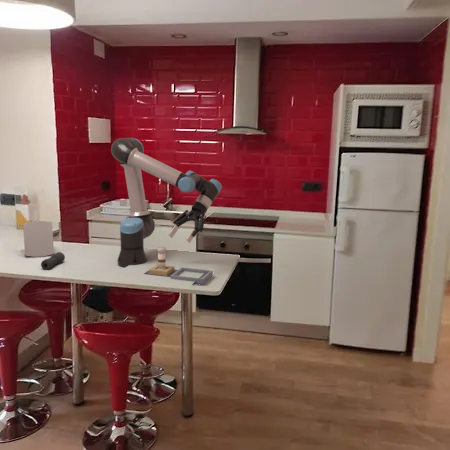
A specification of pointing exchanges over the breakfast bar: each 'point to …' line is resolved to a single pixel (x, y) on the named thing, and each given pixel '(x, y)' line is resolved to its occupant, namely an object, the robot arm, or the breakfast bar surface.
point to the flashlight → (53, 260)
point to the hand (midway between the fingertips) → (178, 238)
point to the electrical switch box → (38, 238)
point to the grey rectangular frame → (201, 280)
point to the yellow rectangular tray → (161, 271)
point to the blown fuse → (161, 258)
